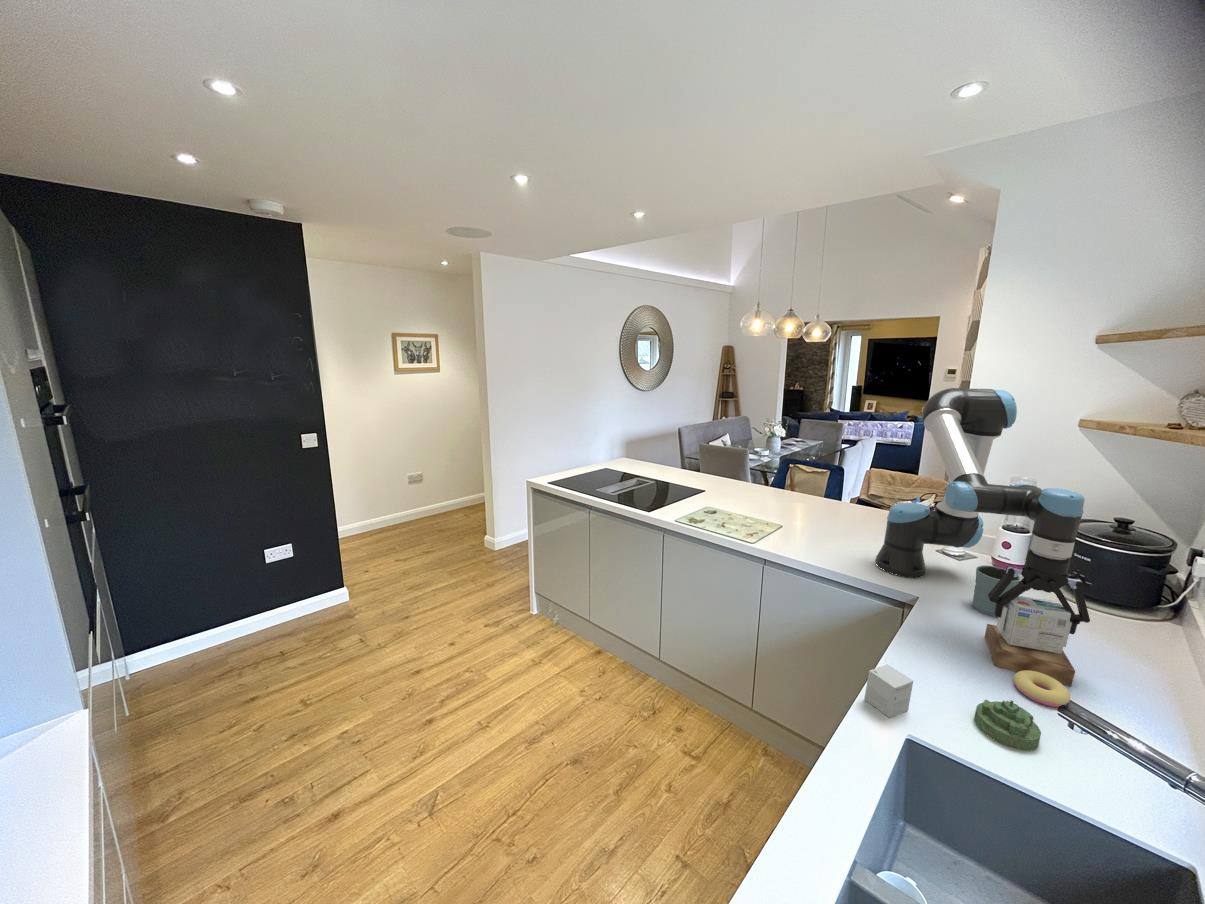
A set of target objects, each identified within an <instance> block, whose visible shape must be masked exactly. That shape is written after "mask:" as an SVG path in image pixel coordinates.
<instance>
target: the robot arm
mask: <svg viewBox="0 0 1205 904" xmlns="http://www.w3.org/2000/svg"><path fill="white" fill-rule="evenodd" d="M1017 414H1018V408H1017V403H1016V399H1015V397H1014V396H1013V395H1012V394H1011V392H1009V391H1007V390H1002V389H995V388H994V389H993V388H990V389H989V388H959V387H950V388H945V389H943V390H939V391H938V392H936V393H934V394H933V395H932V396H930V397H929V398H928V400H927V401H926V402H925V404H924V405H923V407H922V411H921V420H922V424H923V426H924V429H925V430H926V431H927V432H929V433H931V437H932V439H933V441H934V444H935V446H936V449H937V452H938V454H939V456H940V459H941V462H942V464H943V467H944V469H945V471H946V475H947V477H948V480H947V484H946V488H945V491H944V496H943V500H941V501H940V502H936V503H937V504H936V505H935V510H933V509H932V510H931V509H930V507H929V506H927V505H926V504H922V503H916V502H900V503H896V504H894V505H891V506H890V508H889V511H888V515H887V518H886V520H887V522H886V527H885V528H886V529H885V534H884V539H883V541H884V542H883V544H882V546H881V548H880V550H879V552H878V553H877V555H876V557H875V561H874V563H875V562H876V564H877V565H878V566H879V567H880V568H882V569H884V570H885V571H884V572H886V571H888V572H891V573H893V574H892V575H894V574H897V575H896V576H898V575H900V576H899V577H902V576H904V577H903V578H909V577H913V579H916V578H915V577H918V578H922V577H924V576H925V574H926V570H927V569H926V568H927V567H926V562H925V557H924V554H923V552H924V544H927V545H934V546H935V545H936V546H944V547H951V548H952V547H954V548H964V549H965V548H967V549H969V548H972V547H974V546H976V545H977V544H978V543H979V542H980V540H981V538H982V536H983V534H984V528H983V527H984V521H983V519H982V517H981V516H980V515H979V513H983V514H984V513H986V514H993V515H995V514H996V515H1003V516H1004V515H1005V516H1014V517H1026V518H1027V519H1029V520H1031V521H1034V523H1033V528H1032V531H1031V536H1030V537H1031V540H1030V539H1029V543H1030V544H1029V543H1028V547H1029V548H1030V550H1028V549H1027V551H1028V553H1026V556H1027V557H1026V556H1025V561H1026V562H1025V561H1024V565H1025V566H1023V567H1022V568H1015V567H1013V566H1011V565H1007V566H1006V568H1005V569H1006V572H1005V574H1004V576H1003V577H1002V578H1001V579H1000V580H999V582H998V583H997V584H996V585H995V587H994V588H993V589H992V590H991V592H990V593H989V594H988V597H989V599H990V601H991V602H994V603H996V606H995V611H994V613H995V616H994V617H996V618H997V621H996V626H997V628H998V631H1001V632H1002V631H1003V627H1004V622H1005V618H1006V613H1007V609H1008V608H1007V606H1006V604H1007V603H1009V602H1010V601H1012V600H1013V599H1014V598H1016V597H1017V596H1021V595H1022V594H1024V593H1025V592H1028V591H1030V590H1031V589H1032V590H1035V591H1043V592H1045V593H1048V594H1049V593H1050V594H1051V593H1054V594H1055V596H1056V598H1057V599H1058V601H1059V602H1060V605H1061V606H1062V607H1064V609H1065V610H1066V611H1068V612H1070V613H1071V617H1070V621H1069V625H1068V629H1067V633H1066V637H1065V641H1064V645H1063V648H1066V647H1067V645H1068V640H1069V637H1070V635H1074V634H1076V631H1077V626H1078V625H1080V624H1081V623H1087V624H1088V623H1090V621H1091V618H1090V614H1089V611H1088V607H1087V603H1086V599H1085V596H1084V588H1085V584H1084V582H1083V581H1082V580H1081V579H1080V578H1078V577H1077V578H1069V577H1068V573H1069V569H1070V565H1071V560H1070V558H1072V555H1073V552H1074V547H1075V544H1076V543H1075V542H1076V539H1077V536H1078V533H1079V528H1080V525H1081V521H1082V518H1083V514H1084V507H1085V506H1084V504H1085V497H1084V496H1083V495H1082V494H1081V493H1079V492H1076V491H1072V490H1069V489H1063V488H1057V487H1056V488H1054V487H1048V488H1047V487H1046V488H1044V489H1042V488H1040V487H1037V486H1036V485H1031V484H1029V483H1028V484H1027V483H1017V484H1015V485H1003V484H993V483H990V484H989V483H988V481H987V480H986V478H985V471H986V467H987V465H988V464H987V463H988V460H989V456H990V453H991V449H992V446H993V442H994V440H995V439H997V438H999V437H1001V436H1002V433H1003V429H1004V430H1006V429H1009V428H1011V427H1012V426H1013V425H1014V424H1015V422H1016V420H1017ZM876 564H875V565H876ZM879 567H878V568H879ZM880 568H879V569H880ZM882 569H881V570H882ZM888 572H887V573H888ZM891 573H890V574H891ZM1017 576H1022V577H1023V579H1020V582H1019V583H1018V584H1017V585H1015V586H1014V587H1013V588H1011V589H1010V590H1008V591H1007V592H1005V593H1004V594H1002V592H1003V591H1004V590H1005V589H1006V588H1007V586H1008V585H1009V584H1010V583H1011V581H1012V580H1013V578H1014V577H1017ZM1066 585H1069V587H1070V588H1071V589H1072V591H1073V596H1074V599H1075V603H1076V607H1077V611H1078V613H1077V614H1076V613H1075V611H1074V610H1073V608H1072V606H1071V605H1070V603H1069V601H1068V600H1067V598H1066V597H1065V595H1064V593H1063V591H1062V590H1061V588H1062V587H1064V586H1066ZM1001 594H1002V595H1001ZM1000 595H1001V596H1000ZM999 596H1000V597H999Z"/></svg>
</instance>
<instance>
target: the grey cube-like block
mask: <svg viewBox="0 0 1205 904" xmlns="http://www.w3.org/2000/svg"><path fill="white" fill-rule="evenodd" d="M913 685H914V680H913V679H912V678H910V677H909V676H907V675H906V674H903V672H900V671H899V670H898V669H896V668H894V667H893V666H891V665H889V664H885V665H882V666H877V667H875V668H873V669H870V670H869V671H868V676H867V681H866V687H865V694H864V700H865V701H866V702H867V703H868V704H870V705H871V706H872V707H874V708H875V707H876V708H875V709H876V710H878V711H880V712H881V713H882V714H884V715H885V716H886V717H887V718H889V717H891V718H892V716H893V717H895V716H897V715H899V713H900V714H902V713H904V712H908V711H909V708H910V702H911V697H912V691H913ZM894 715H895V716H894Z"/></svg>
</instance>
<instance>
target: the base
mask: <svg viewBox="0 0 1205 904" xmlns="http://www.w3.org/2000/svg"><path fill="white" fill-rule="evenodd" d="M985 628H986V629H985V634H984V639H985V643H986V645H987V647H988V651H989V653H990V657H991V659H992V663H993V665H994V666H995V667H1000V668H1002V669H1003V668H1004V669H1006V670H1011V671H1014V672H1016V673H1018V672H1019V671H1024V670H1030V671H1036V672H1040V673H1043V674H1045V675H1048V676H1050V677H1052V678H1054V679H1055V680H1057V681H1058V682H1060V683H1061V684H1062V685H1064V686H1068V687H1069V686H1070V687H1072V686H1073V682H1074V678H1075V674H1076V669H1075V668H1074V666H1073V665H1072V663H1071V662H1070V660H1069V658H1068V657H1067V654H1066V653H1065V651H1064V650H1063V649H1062V653H1061V654H1060V653H1054V652H1049V651H1043V650H1038V649H1032V648H1027V647H1021V646H1016V645H1009V644H1008V643H1007V641H1006V640H1005V639H1004V638H1003V636H1002V635H1001V634H1000V632H999V631H998V628H997V624H991V623H986V627H985Z"/></svg>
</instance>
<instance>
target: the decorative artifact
mask: <svg viewBox="0 0 1205 904" xmlns="http://www.w3.org/2000/svg"><path fill="white" fill-rule="evenodd" d="M973 717H974V718H973V720H974V723H975V725H976V727H978V729H979V730H980V731H981V732H982V733H983V734H985V735H986V736H987V735H988V736H989V738H990V737H991V738H992V740H993V739H994V740H993V741H995V742H997V743H998V744H1001V745H1003V746H1005V747H1007V748H1011V749H1014V750H1018V751H1022V752H1023V751H1025V752H1028V751H1029V752H1031V751H1035V750H1037V748H1038V747H1039V745H1040V744H1039V743H1040V740H1041V735H1042V731H1041V729H1040V727H1039V726H1038V724H1037V723H1035V722H1034V719H1035V718H1034V716H1033V715H1032V714H1031V713H1030V712H1029V711H1027V710H1026V709H1025V708H1023V707H1020V705H1018V704H1017V703H1014V701H1013V700H1012V699H1011V700H1002V701H997V700H995V701H990V700H988V699H984V700H983V702H981V703H980V702H979V703H978V705H976V708H975V713H974V716H973ZM988 736H987V737H988ZM991 738H990V739H991Z"/></svg>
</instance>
